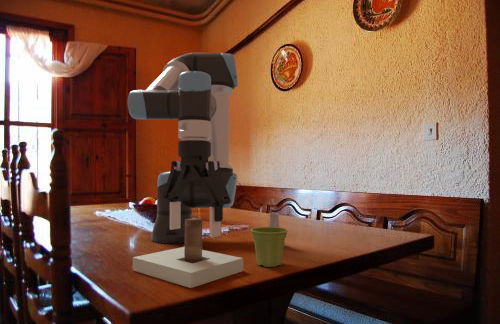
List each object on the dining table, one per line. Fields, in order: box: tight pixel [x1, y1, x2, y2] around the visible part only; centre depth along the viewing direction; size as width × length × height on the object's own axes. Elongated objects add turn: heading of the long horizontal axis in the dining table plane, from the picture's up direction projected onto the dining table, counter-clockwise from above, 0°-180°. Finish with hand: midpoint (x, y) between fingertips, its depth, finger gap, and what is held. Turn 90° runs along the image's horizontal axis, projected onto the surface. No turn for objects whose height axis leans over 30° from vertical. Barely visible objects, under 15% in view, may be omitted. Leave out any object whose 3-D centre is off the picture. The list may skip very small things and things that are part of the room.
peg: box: [184, 217, 203, 263], centre depth 84 cm, size 4×4×12 cm
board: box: [132, 246, 244, 289], centre depth 85 cm, size 20×16×3 cm
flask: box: [268, 212, 286, 247], centre depth 113 cm, size 7×7×10 cm
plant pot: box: [250, 226, 289, 268], centre depth 91 cm, size 9×9×9 cm
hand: (194, 232), depth 84 cm, fingers open, 13 cm apart
